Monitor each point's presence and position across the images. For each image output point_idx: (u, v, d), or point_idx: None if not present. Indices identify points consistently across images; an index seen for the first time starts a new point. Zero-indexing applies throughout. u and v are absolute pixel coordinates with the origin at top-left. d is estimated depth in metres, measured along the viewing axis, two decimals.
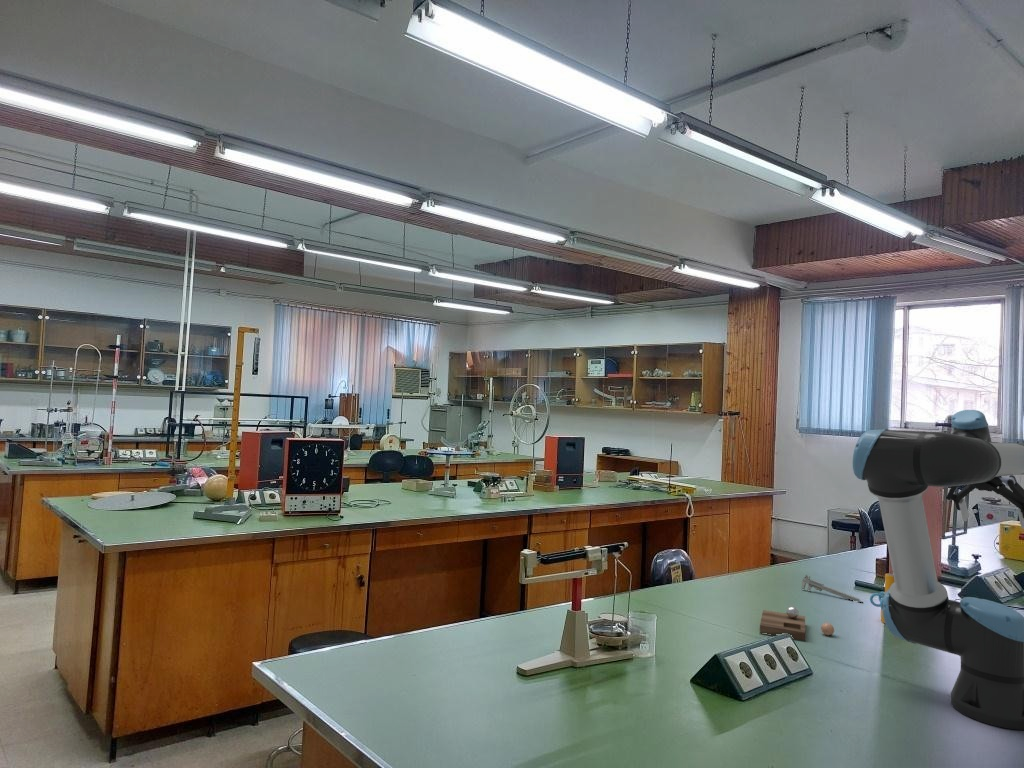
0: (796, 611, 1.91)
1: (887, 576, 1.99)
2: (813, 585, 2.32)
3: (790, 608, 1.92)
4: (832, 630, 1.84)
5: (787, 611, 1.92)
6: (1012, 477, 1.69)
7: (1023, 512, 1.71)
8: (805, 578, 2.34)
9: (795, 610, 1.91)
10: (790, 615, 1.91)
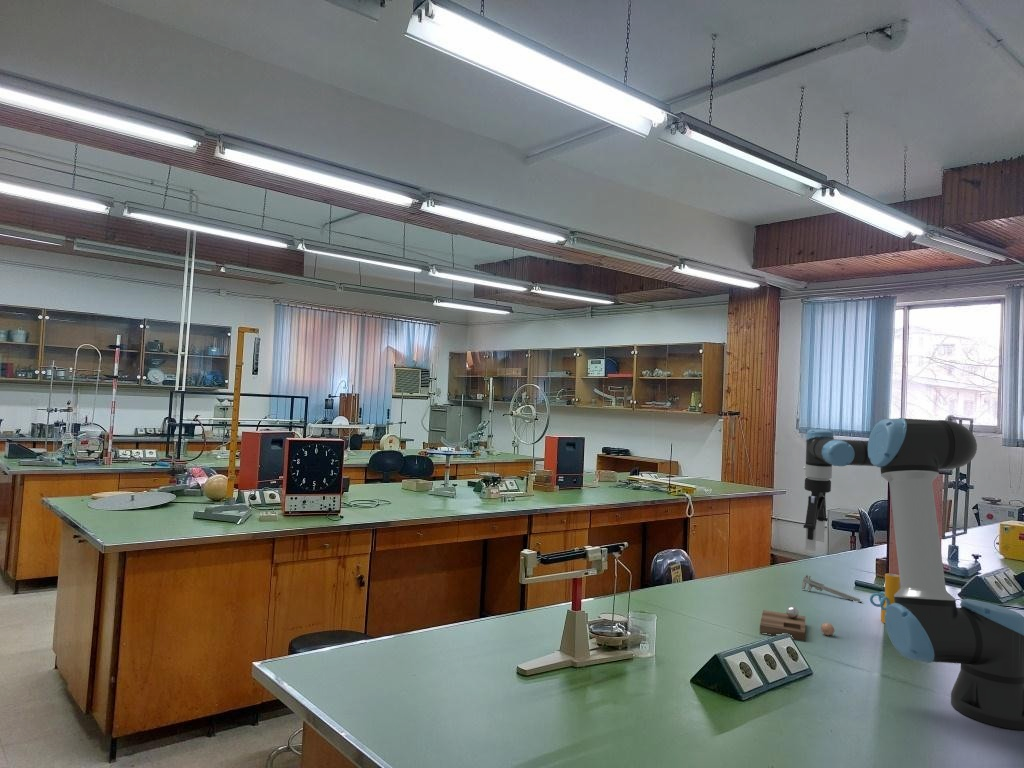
0: (796, 611, 1.91)
1: (887, 576, 1.99)
2: (813, 585, 2.32)
3: (790, 608, 1.92)
4: (832, 630, 1.84)
5: (787, 611, 1.92)
6: None
7: None
8: (805, 578, 2.34)
9: (795, 610, 1.91)
10: (790, 615, 1.91)
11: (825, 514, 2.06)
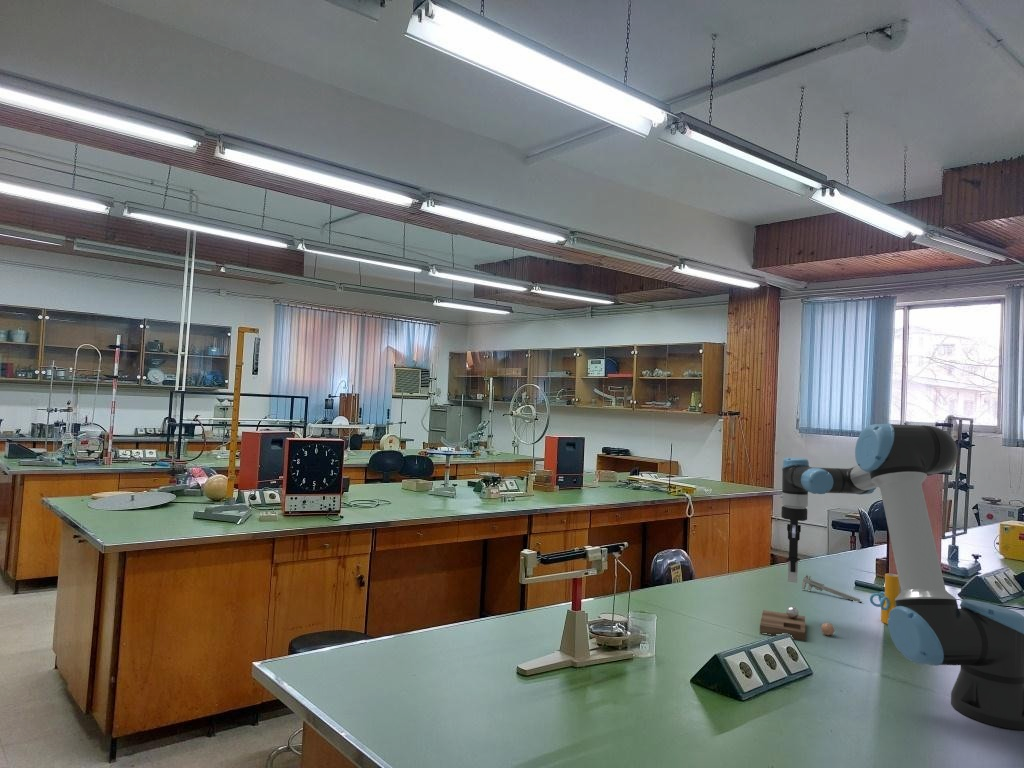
0: (796, 611, 1.91)
1: (887, 576, 1.99)
2: (813, 585, 2.32)
3: (790, 608, 1.92)
4: (832, 630, 1.84)
5: (787, 611, 1.92)
6: None
7: None
8: (805, 578, 2.34)
9: (795, 610, 1.91)
10: (790, 615, 1.91)
11: None
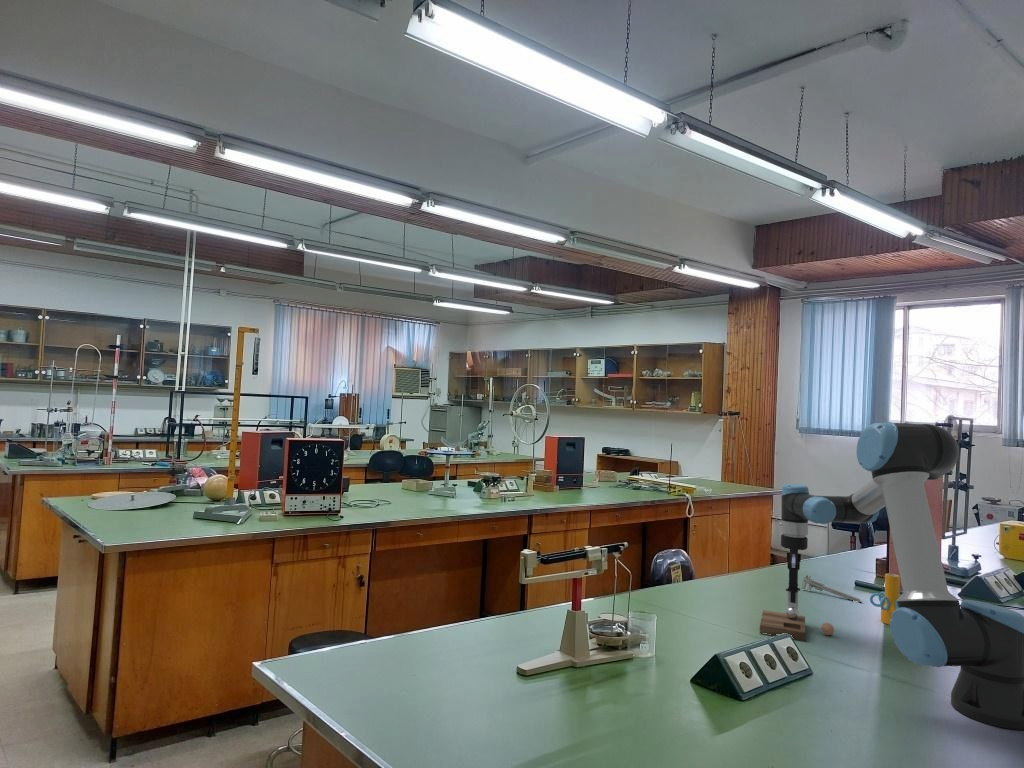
0: (796, 613, 1.90)
1: (887, 576, 1.99)
2: (813, 585, 2.32)
3: (790, 611, 1.91)
4: (832, 630, 1.84)
5: (787, 613, 1.91)
6: None
7: None
8: (806, 578, 2.34)
9: (795, 613, 1.90)
10: (790, 617, 1.91)
11: None
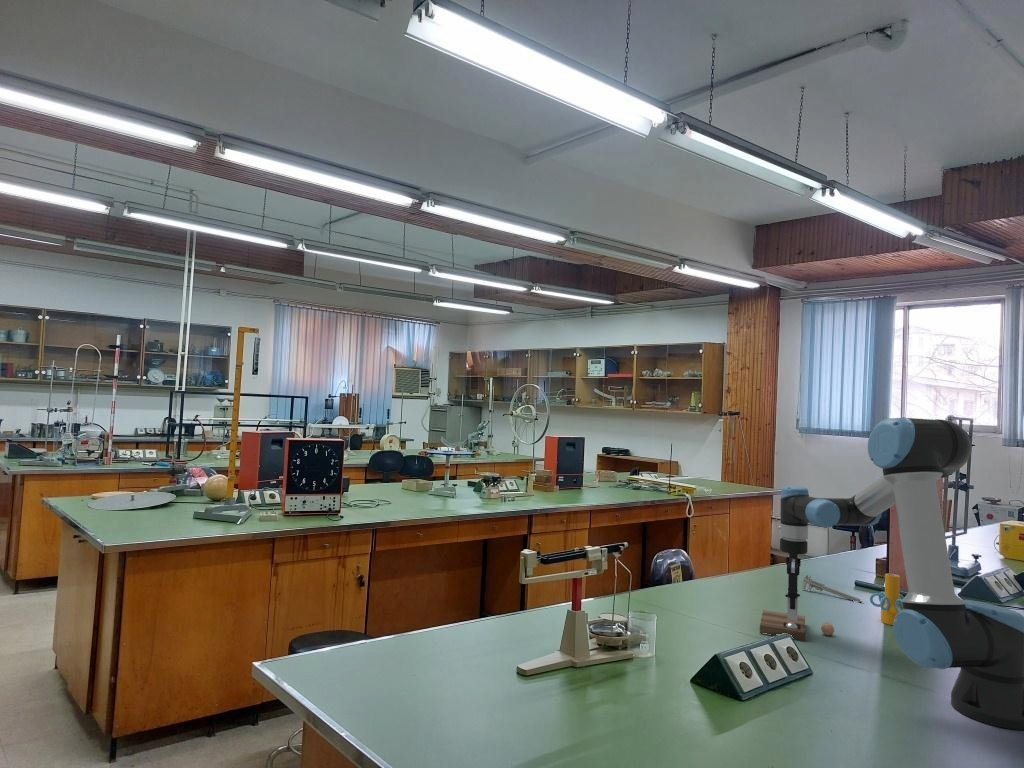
0: (795, 624, 1.85)
1: (887, 576, 1.99)
2: (814, 585, 2.32)
3: None
4: (832, 630, 1.84)
5: (786, 624, 1.85)
6: None
7: None
8: (806, 578, 2.34)
9: (794, 623, 1.85)
10: (789, 624, 1.84)
11: None
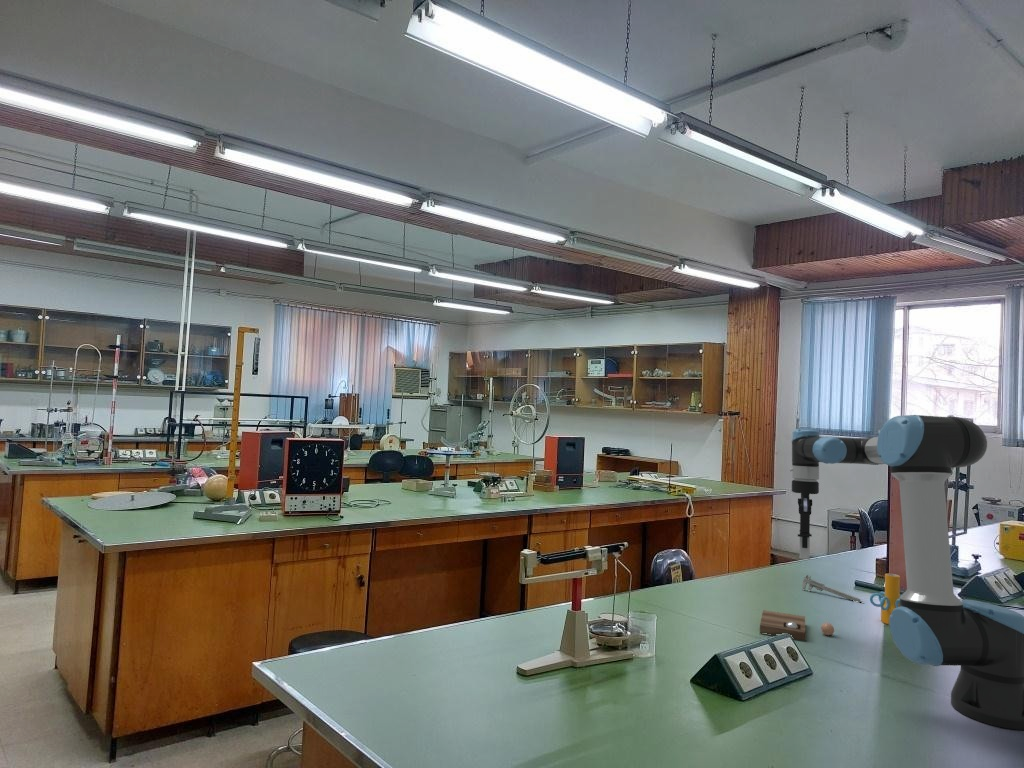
0: None
1: (887, 576, 1.99)
2: (814, 585, 2.32)
3: None
4: (832, 630, 1.84)
5: (786, 623, 1.86)
6: None
7: None
8: (806, 578, 2.34)
9: None
10: (789, 622, 1.85)
11: None
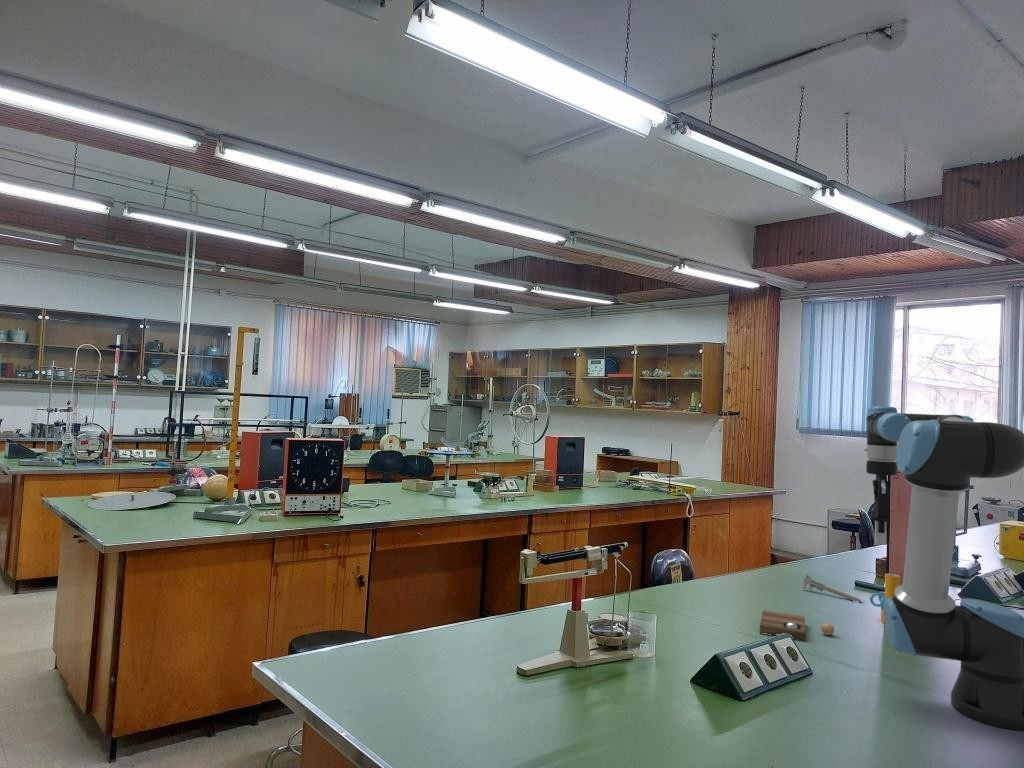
0: None
1: (887, 576, 1.99)
2: (814, 585, 2.32)
3: None
4: (832, 630, 1.84)
5: None
6: None
7: None
8: (806, 578, 2.34)
9: None
10: (789, 623, 1.84)
11: None
